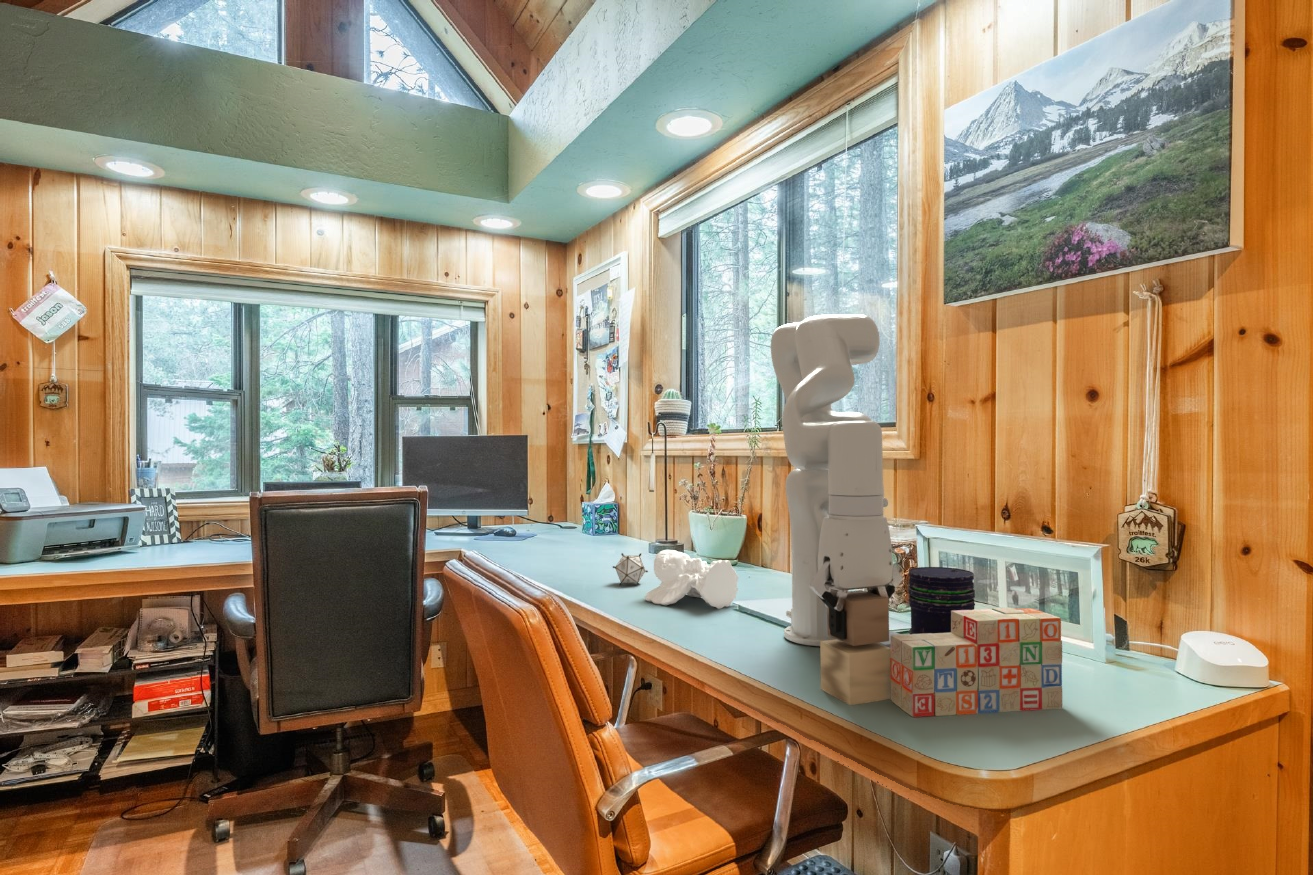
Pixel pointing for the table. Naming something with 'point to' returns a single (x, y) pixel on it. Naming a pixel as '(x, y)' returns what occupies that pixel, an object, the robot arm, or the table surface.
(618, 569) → the game die
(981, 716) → the table surface
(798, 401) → the robot arm
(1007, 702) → the stack of blocks
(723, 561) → the cherub figurine
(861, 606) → the walnut cube
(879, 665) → the oak block
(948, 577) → the storage jar
